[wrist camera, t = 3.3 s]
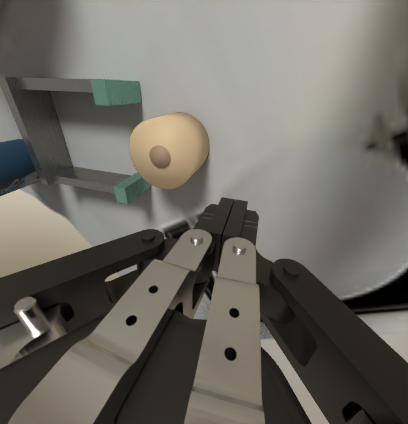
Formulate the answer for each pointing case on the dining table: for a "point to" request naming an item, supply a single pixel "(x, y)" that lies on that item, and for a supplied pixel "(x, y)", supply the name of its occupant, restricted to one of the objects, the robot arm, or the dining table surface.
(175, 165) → the beige round fruit
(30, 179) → the soda can
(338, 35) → the dining table surface
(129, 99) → the holder
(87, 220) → the dining table surface
